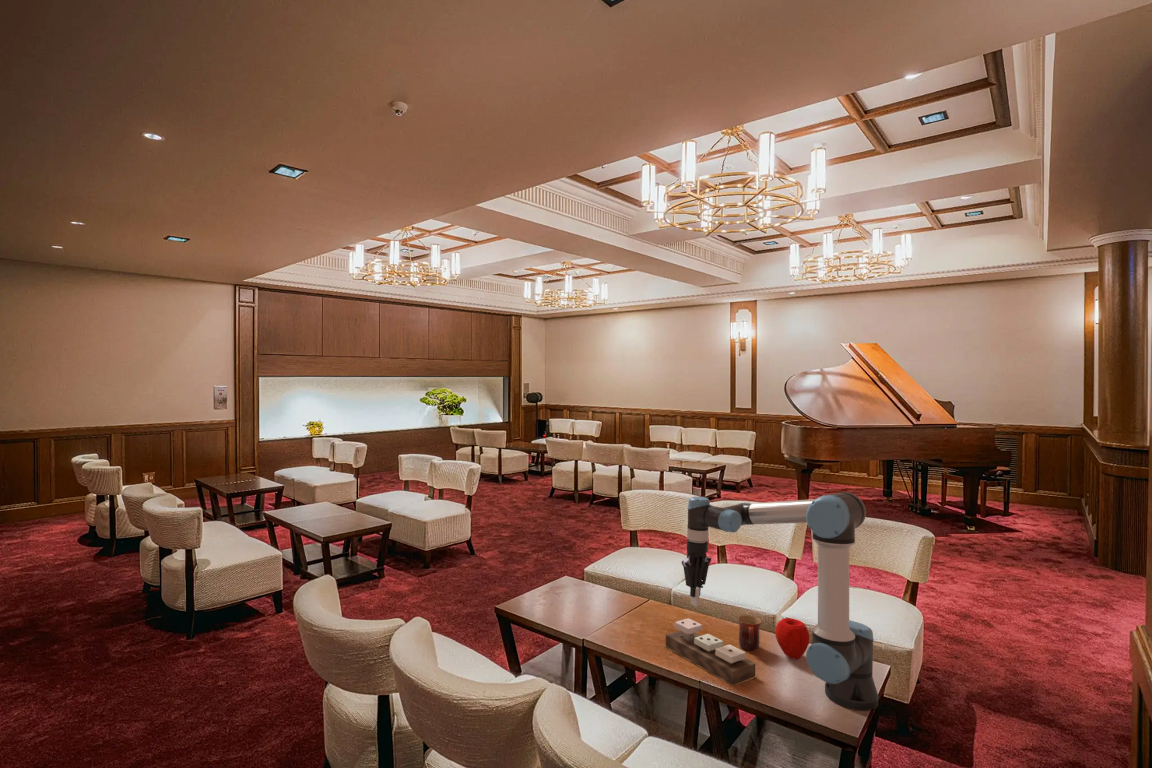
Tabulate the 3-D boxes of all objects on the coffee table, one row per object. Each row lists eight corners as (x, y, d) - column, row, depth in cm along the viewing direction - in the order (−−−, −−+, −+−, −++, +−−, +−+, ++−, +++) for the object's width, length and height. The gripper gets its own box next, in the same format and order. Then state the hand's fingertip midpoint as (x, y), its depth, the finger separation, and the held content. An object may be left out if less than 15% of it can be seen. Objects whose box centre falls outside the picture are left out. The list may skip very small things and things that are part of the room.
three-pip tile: (722, 659, 198) (723, 640, 198) (708, 664, 194) (708, 644, 194) (707, 651, 204) (708, 633, 204) (693, 655, 200) (694, 637, 200)
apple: (767, 650, 208) (768, 614, 208) (795, 647, 211) (796, 612, 211) (787, 666, 197) (788, 627, 197) (816, 662, 200) (817, 624, 200)
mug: (735, 640, 216) (736, 613, 216) (759, 643, 214) (760, 616, 214) (738, 655, 204) (739, 626, 204) (763, 657, 202) (764, 629, 203)
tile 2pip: (701, 642, 206) (702, 624, 206) (687, 646, 202) (688, 628, 203) (688, 635, 212) (688, 617, 212) (674, 639, 208) (674, 621, 208)
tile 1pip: (745, 671, 189) (745, 651, 190) (731, 676, 186) (731, 656, 186) (729, 662, 195) (729, 643, 195) (715, 667, 192) (715, 648, 192)
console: (756, 677, 188) (756, 663, 188) (732, 686, 182) (733, 672, 182) (687, 639, 216) (687, 628, 216) (664, 646, 209) (664, 634, 209)
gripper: (702, 535, 211) (700, 598, 211) (676, 539, 204) (674, 604, 204) (717, 540, 205) (715, 605, 205) (691, 545, 198) (689, 612, 198)
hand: (694, 605), depth 205 cm, fingers closed
